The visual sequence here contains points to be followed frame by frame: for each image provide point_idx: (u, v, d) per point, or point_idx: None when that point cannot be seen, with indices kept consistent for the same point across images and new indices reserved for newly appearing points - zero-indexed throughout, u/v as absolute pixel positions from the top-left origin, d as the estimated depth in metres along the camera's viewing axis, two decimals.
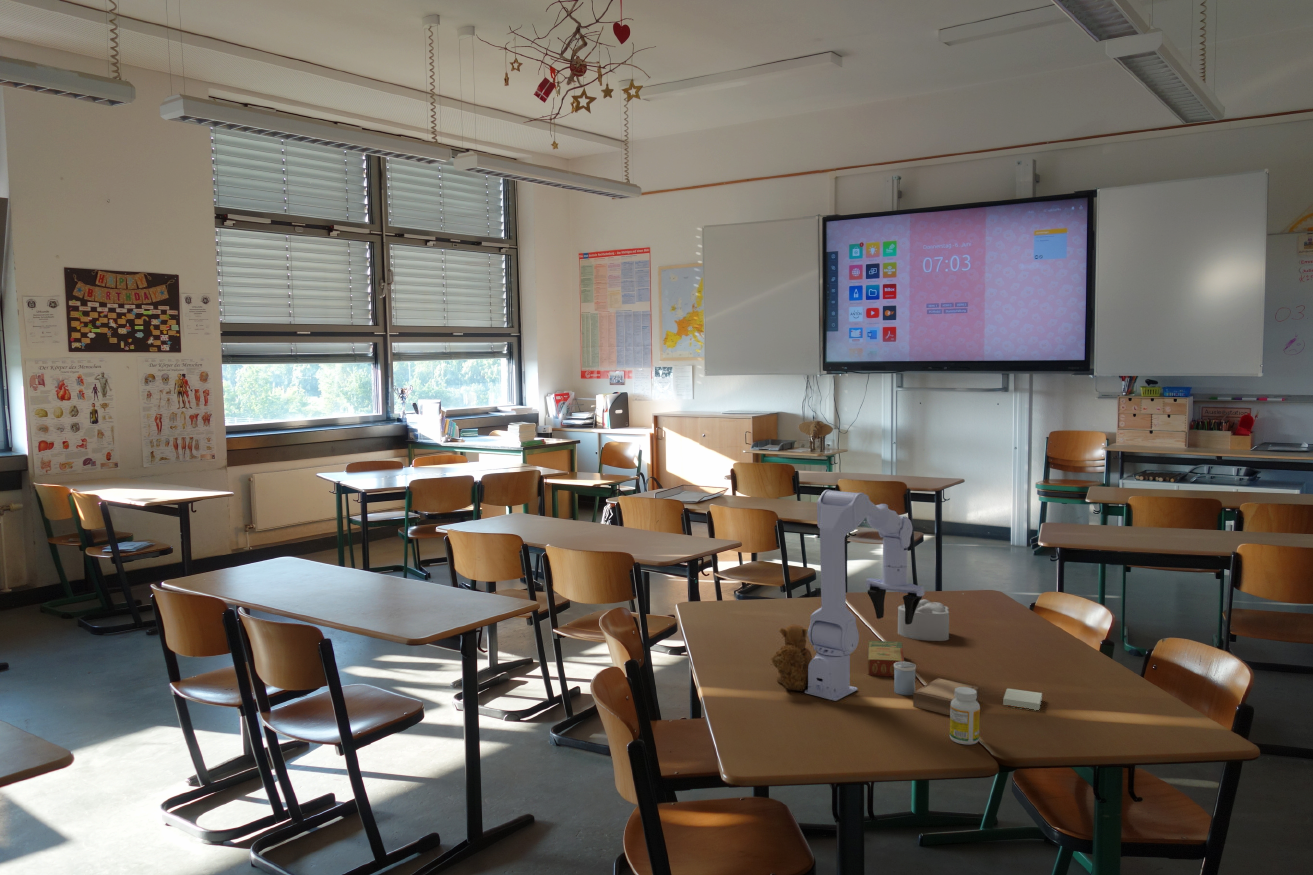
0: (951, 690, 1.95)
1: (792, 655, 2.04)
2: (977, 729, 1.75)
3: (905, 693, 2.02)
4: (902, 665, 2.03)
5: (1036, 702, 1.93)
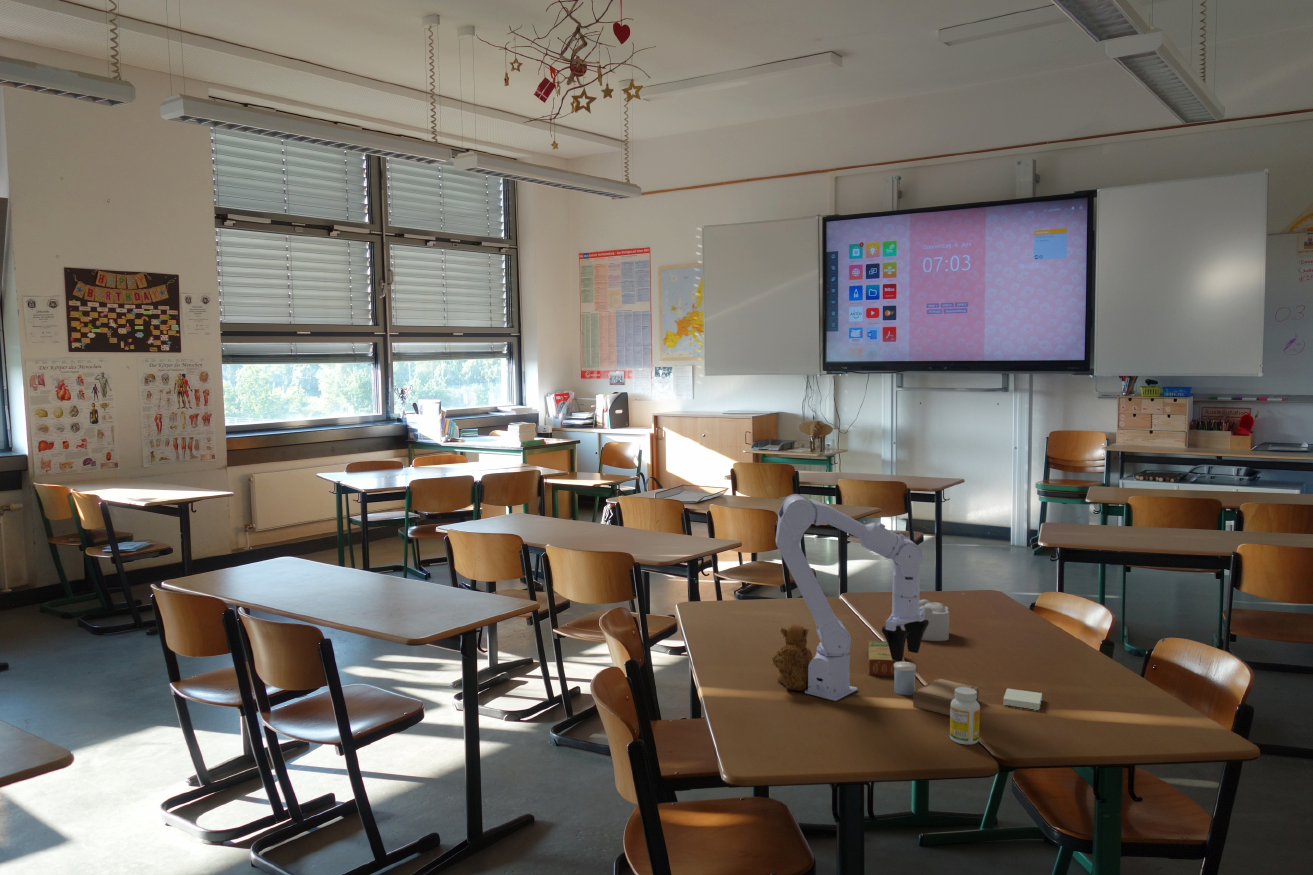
0: (951, 690, 1.95)
1: (793, 655, 2.04)
2: (977, 729, 1.75)
3: (905, 693, 2.02)
4: (902, 665, 2.03)
5: (1037, 702, 1.93)
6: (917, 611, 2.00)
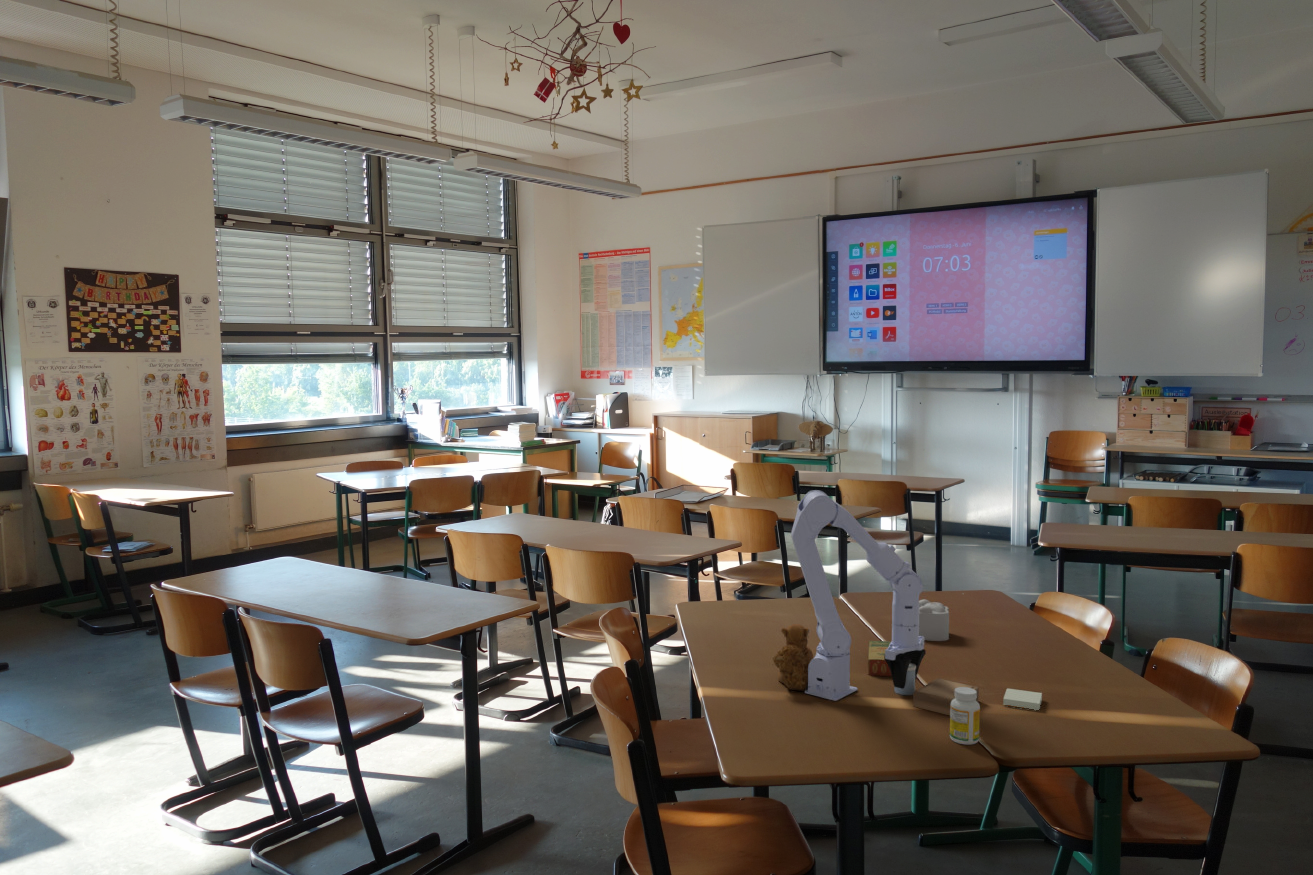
0: (951, 690, 1.95)
1: (794, 655, 2.04)
2: (977, 729, 1.75)
3: (905, 693, 2.02)
4: None
5: (1037, 702, 1.93)
6: (917, 640, 2.01)
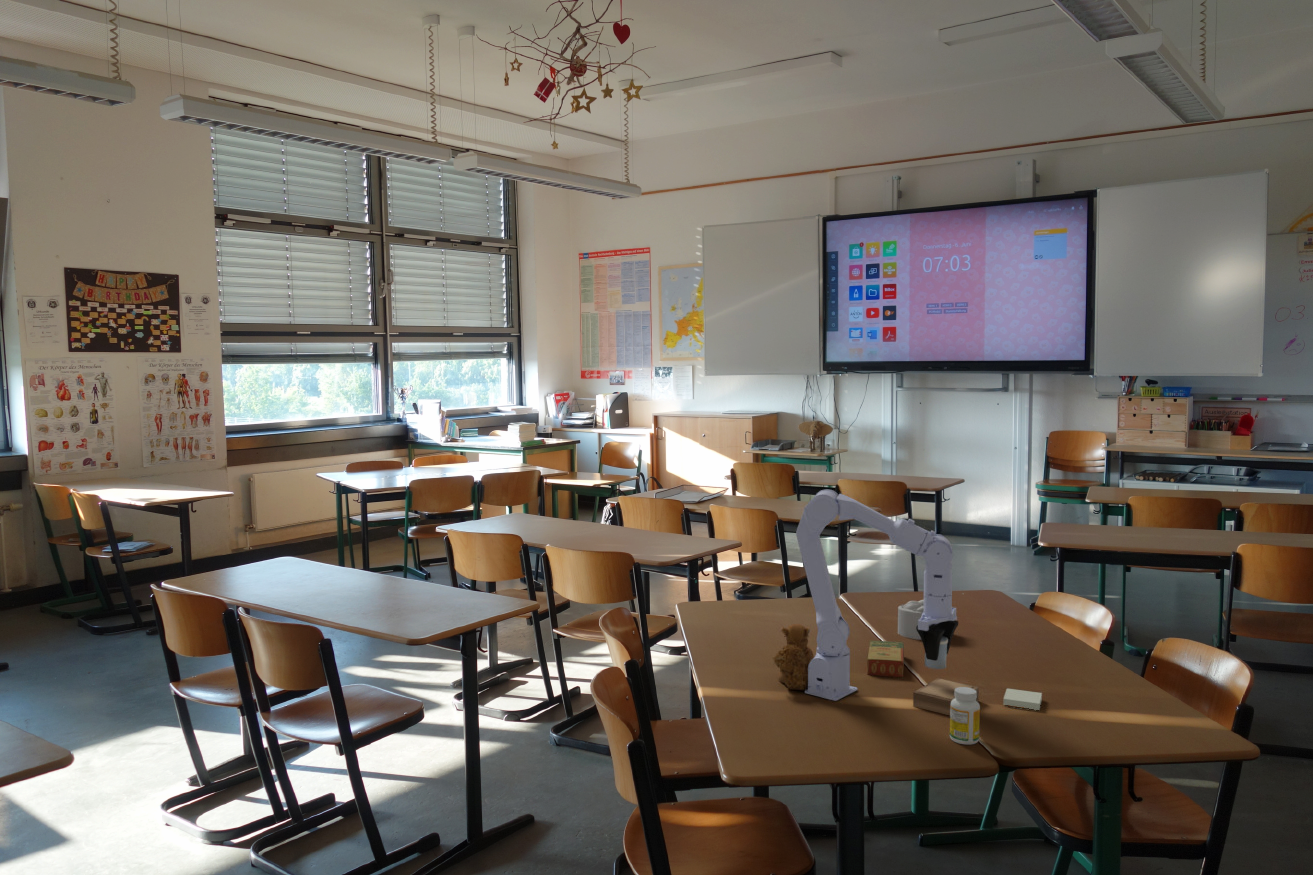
0: (951, 690, 1.95)
1: (794, 655, 2.04)
2: (977, 729, 1.75)
3: (936, 667, 1.96)
4: None
5: (1037, 702, 1.93)
6: (950, 610, 1.95)
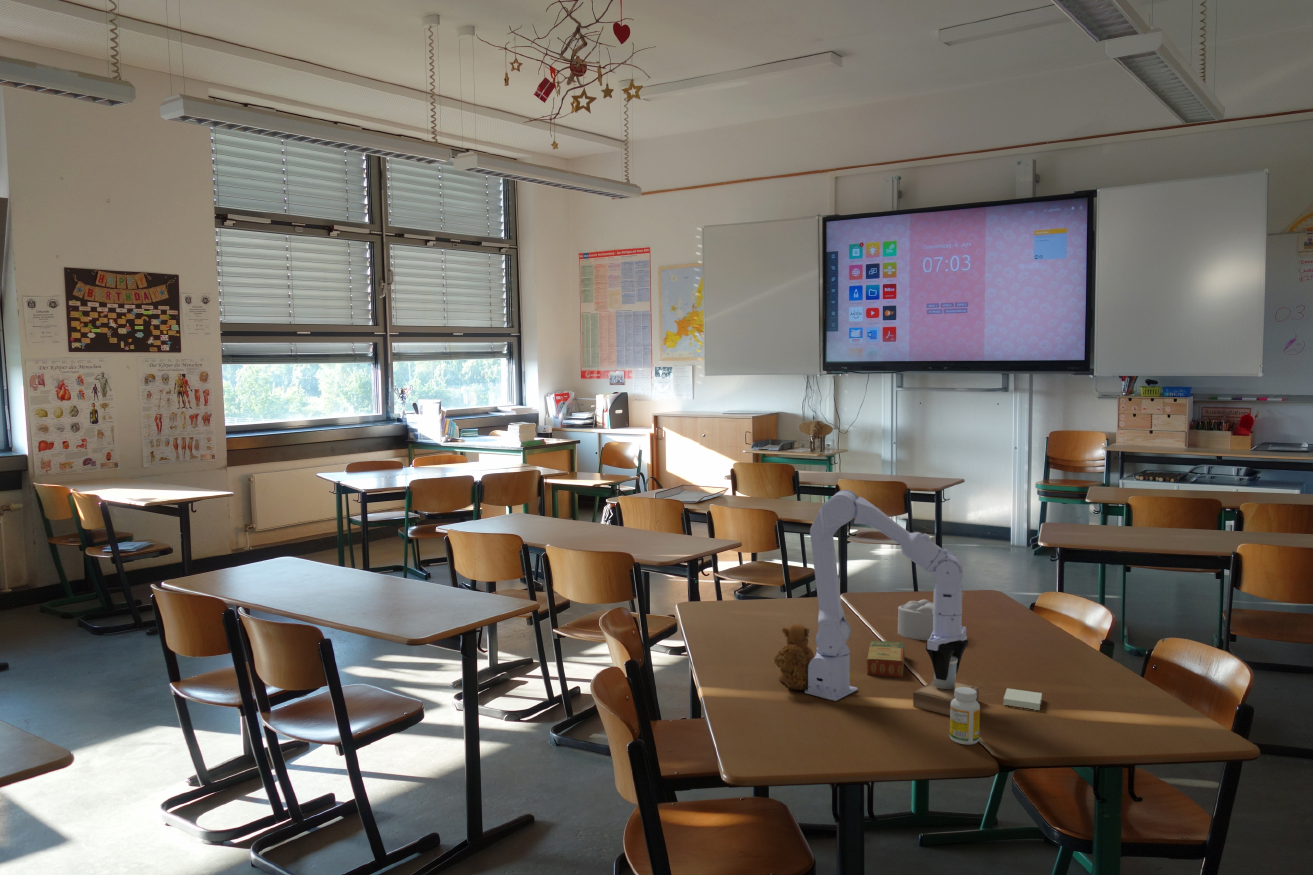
0: (951, 690, 1.95)
1: (795, 655, 2.04)
2: (977, 729, 1.75)
3: (945, 687, 1.94)
4: None
5: (1037, 702, 1.93)
6: (959, 630, 1.93)
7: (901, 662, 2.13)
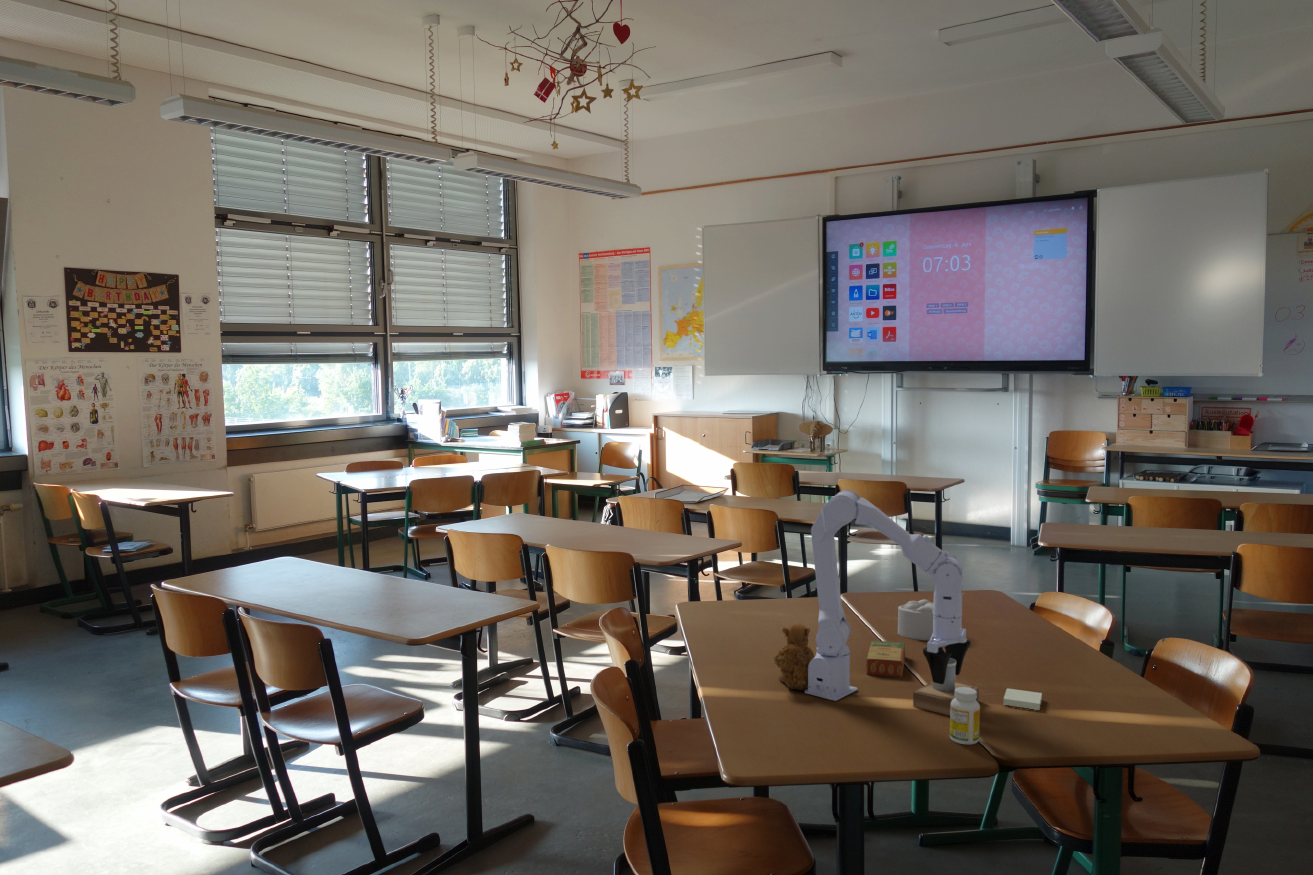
0: None
1: (795, 654, 2.04)
2: (977, 729, 1.75)
3: (945, 689, 1.94)
4: None
5: (1037, 702, 1.93)
6: (959, 632, 1.93)
7: (901, 662, 2.13)
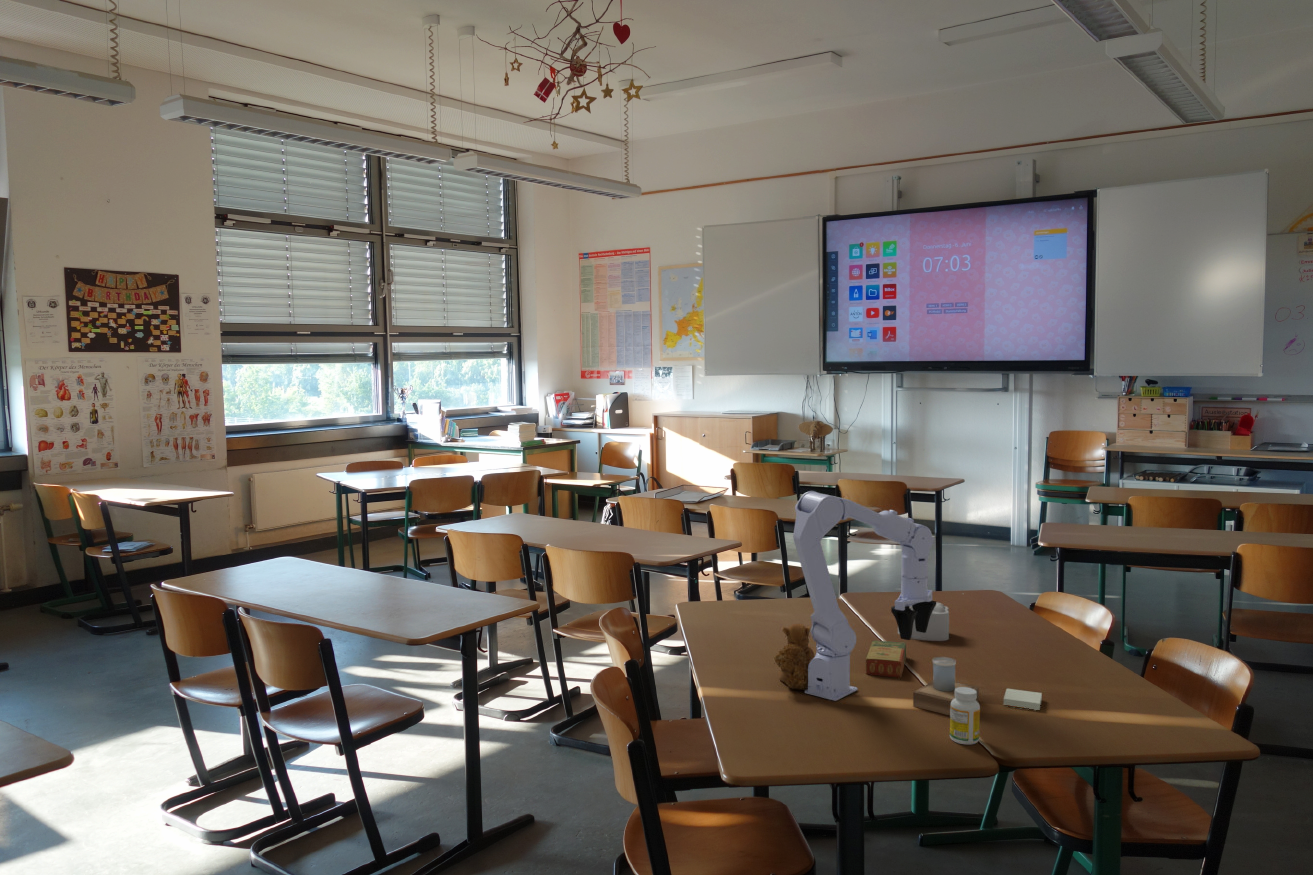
0: None
1: (795, 654, 2.04)
2: (977, 729, 1.75)
3: (945, 689, 1.94)
4: (941, 661, 1.95)
5: (1037, 702, 1.93)
6: (925, 592, 2.08)
7: (900, 662, 2.13)
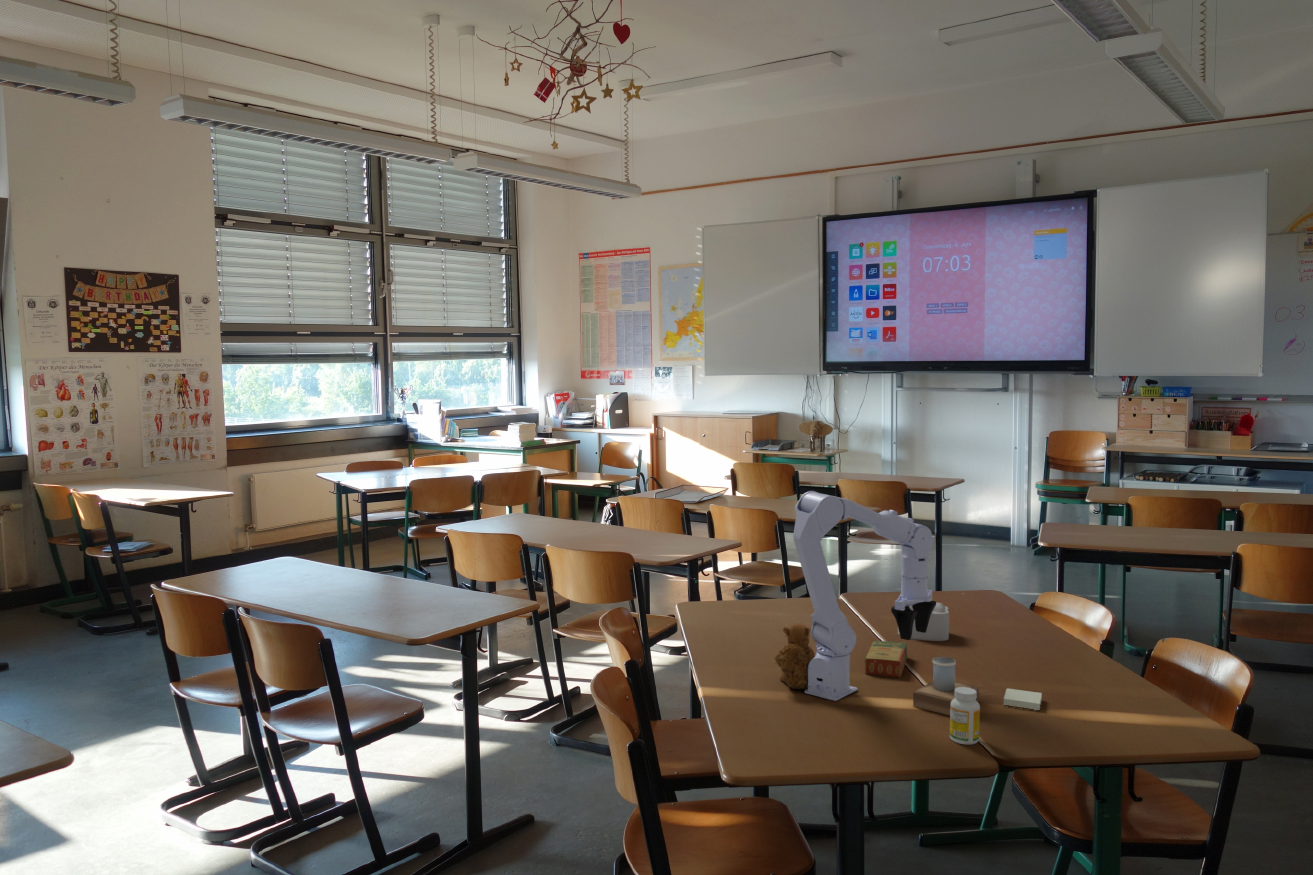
0: None
1: (796, 654, 2.04)
2: (977, 729, 1.75)
3: (945, 689, 1.94)
4: (941, 661, 1.95)
5: (1037, 702, 1.93)
6: (925, 592, 2.08)
7: (899, 662, 2.13)
